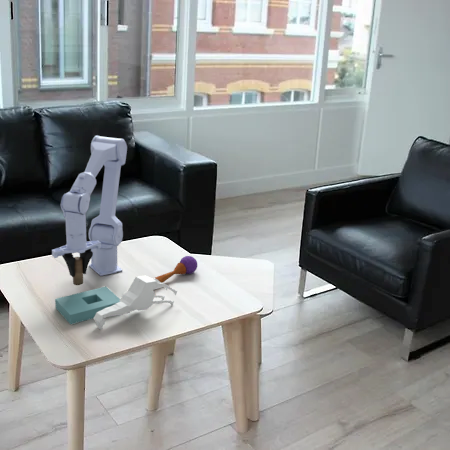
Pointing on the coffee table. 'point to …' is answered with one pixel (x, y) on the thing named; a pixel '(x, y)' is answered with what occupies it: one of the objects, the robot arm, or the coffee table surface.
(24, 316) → the coffee table surface
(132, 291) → the horse figurine
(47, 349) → the coffee table surface
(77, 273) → the peg
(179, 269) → the purple ball maraca
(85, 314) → the socket board
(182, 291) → the coffee table surface
